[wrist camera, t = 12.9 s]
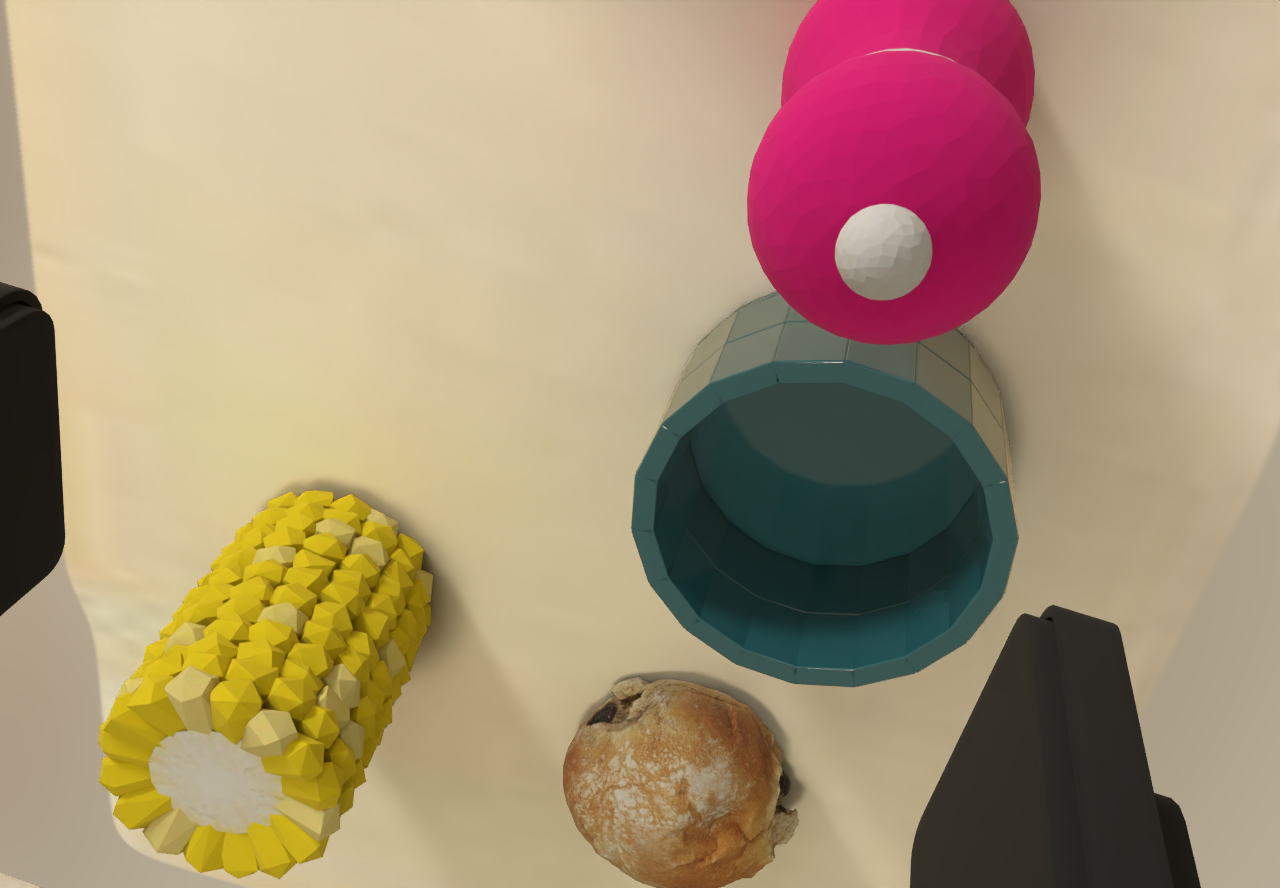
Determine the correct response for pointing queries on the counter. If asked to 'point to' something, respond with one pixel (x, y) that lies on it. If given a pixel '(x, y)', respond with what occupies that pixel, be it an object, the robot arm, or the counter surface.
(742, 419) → the pot
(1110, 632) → the robot arm
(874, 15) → the pepper mill
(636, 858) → the bread roll
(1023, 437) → the counter surface
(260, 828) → the food
